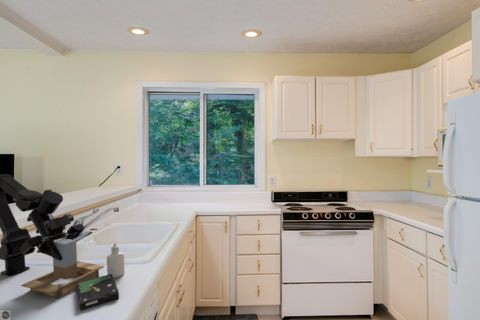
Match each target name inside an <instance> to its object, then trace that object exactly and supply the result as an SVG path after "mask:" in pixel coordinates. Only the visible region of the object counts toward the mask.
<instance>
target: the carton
mask: <svg viewBox="0 0 480 320" xmlns="http://www.w3.org/2000/svg"><path fill="white" fill-rule="evenodd" d="M103 268H105V266H104V265H100V264H97V263H95V264H94V263H91V262H90V263H89V262H84V261H81V260H80V261H79V260H77V275H78V276H79V277H77V278H75V279H73V280H71V281H69V282H67V283H64V284H62V285H55V284H51V283H52V282H54V281H56V280H59V279H60V278H56V277H54V270H53V271H51V272H48V273H45V274H44V275H41V276H39V277H37V278H35V279H32V280H30V281H27V282H25V283H23V284H21V285H20V287H23V288H28V289H30V291H32V292H36V293H38V294H39V293H40V294H44V295H47V296H50V297H54V298H58V299H61V298H63V297H64V296H66V295H68V294H70V293H72V292H74V291H75V290H78V284H79V283H80V282H84V281H88V280H92V279H95V278H97V277H100V274H99V273H100V270H101V269H103Z"/></svg>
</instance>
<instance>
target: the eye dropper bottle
mask: <svg viewBox="0 0 480 320" xmlns="http://www.w3.org/2000/svg"><path fill="white" fill-rule="evenodd" d="M110 251H111V253H109V254H108V255H107V256H106V273H107V274H106V275H109V274H112V276H113V279H115V278H119V277H122V276H124V275H125V273H126V272H125V270H126V269H125V255H124V254H125V253H123V252H121V251H120V246H119V245H117V243H116V242H113V245H112V246H111V250H110Z"/></svg>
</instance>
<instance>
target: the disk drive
mask: <svg viewBox="0 0 480 320" xmlns="http://www.w3.org/2000/svg"><path fill="white" fill-rule="evenodd" d="M77 293H78V298H79V300H78V301H79V309H80V312H81V311H85V310H87V309H91V308H94V307H98V306H101V305H104V304H108V303H111V302H114V301H118V300H119V299H120V292H119V288H118V287H117V283H116V282H115V278H113V276H112V274H109V275H107V274H106V275H102V276H99V277H97V278H95V279H92V280H88V281H84V282H80V283H79V284H78V289H77Z"/></svg>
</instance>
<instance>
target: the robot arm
mask: <svg viewBox="0 0 480 320" xmlns="http://www.w3.org/2000/svg"><path fill="white" fill-rule="evenodd" d="M6 194H8V195H9V196H10V197H12V198H13V199H14V200H15V204H14V205H15V206H16V207H17V208H18V209H19V211H21V212H22V213H23V212H29V211H31V212H30V213H29V214H28V217H27V218H26V221H27V223H28V222H32V223H33V225H34V227H35V228H36V230H35V233H36V235H35V236H31V235H30V233H29V230H28V229H27V228H21V227H20V226H19V225H18V223H17V220H16V217H15V216H14V214H13V211H12V210H11V207H10V205H9V203H8V200H7V199H6V198H7V197H6ZM63 201H64V197H63V195H62V194H60V193H59V192H56V191H53V190H52V189H45V190H44V191H43V193H41V192H40V191H36V190H31V189H28V188H27V187H25V185H23V184H21V182H19V181H17V180H16V179H15V178H14V177H13V176H12V174H0V231H1V233H2V237H1V240H0V260H1V261H4V269H5V270H2V271H0V274H2V275H5V276H9V277H10V276H12V277H13V276H14V275H17V274H20V273H22V272H24V271H27V270H29V269H30V268H31V267H30V266H26V256H27V255H30V254H33V253H34V252H35V251H36V248H37V251H36V253H37V254H44V255H46V256H49V257H51V258H52V259H53V258H55V259H57V260H59V261H61V260H62V256H61V254H60V253H59V251H58V250H57V248H56V247H55V245H54V242H55V241H58V240H61V239H64V238H65V239H71V240H76V239H77V238H79V236H80V235H81V234H82V233H83V231H84V230H86V228H85V226H84V225H83V224H82V223H78V224H74V225H71V224H72V222H74V221H75V217H74V215H73V214H72V213H71V212H68V213H65V214H63V215H62V216H59V217H54V216H53V215H52V214H54V213H55V212H56V211H57V209H58V208H59V207H60V205H61V204H62V202H63ZM68 225H70V227H69V228H68V230H66V228H67V226H68ZM64 230H66V231H64ZM37 234H40V235H37Z"/></svg>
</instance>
